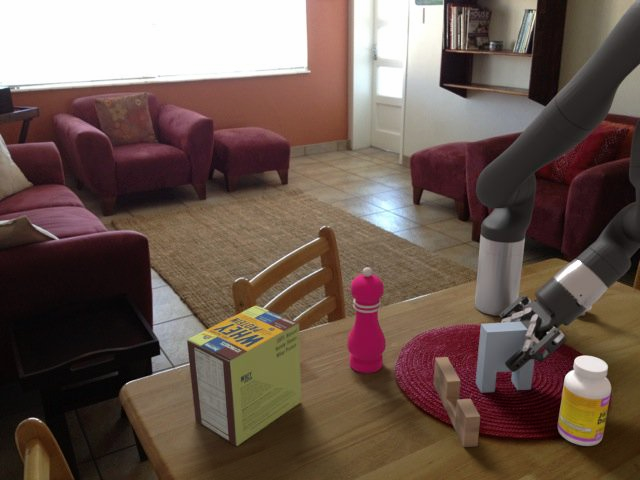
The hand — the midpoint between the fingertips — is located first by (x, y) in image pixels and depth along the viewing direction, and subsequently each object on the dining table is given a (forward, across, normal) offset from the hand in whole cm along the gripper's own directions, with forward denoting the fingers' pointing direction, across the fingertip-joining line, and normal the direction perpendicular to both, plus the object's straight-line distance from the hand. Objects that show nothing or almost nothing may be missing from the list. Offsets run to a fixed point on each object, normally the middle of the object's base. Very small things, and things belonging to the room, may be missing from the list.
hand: (499, 354), depth 106 cm
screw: (-15, -25, +25) cm, 38 cm away
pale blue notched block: (+4, 0, +6) cm, 7 cm away
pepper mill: (+20, -10, -11) cm, 25 cm away
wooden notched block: (+11, +6, -2) cm, 13 cm away
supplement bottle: (-1, +14, +11) cm, 18 cm away
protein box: (+36, +2, -26) cm, 44 cm away
